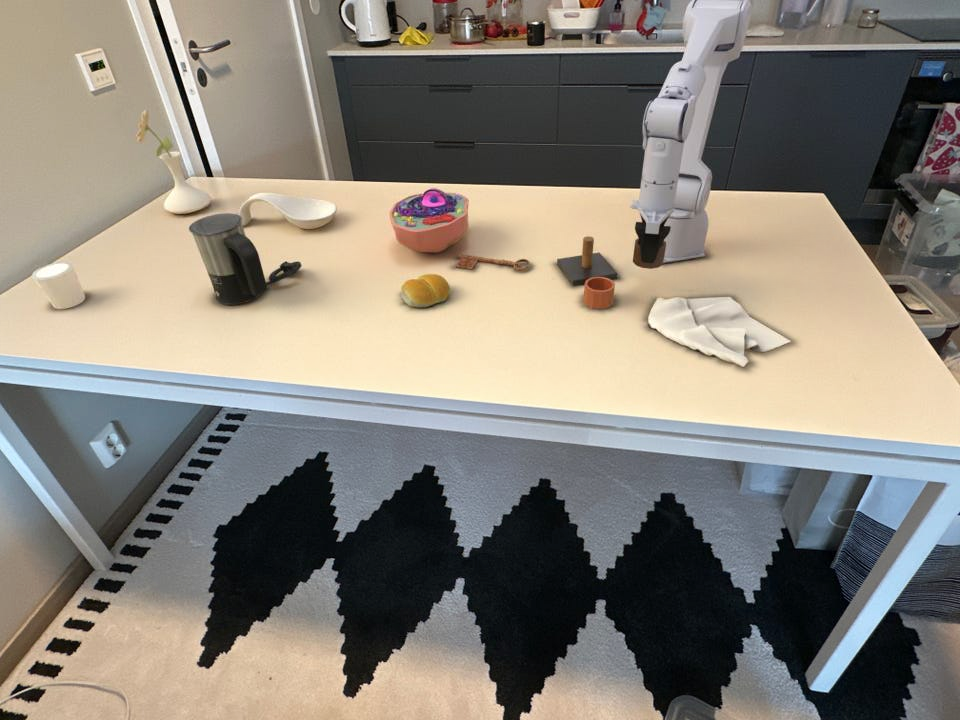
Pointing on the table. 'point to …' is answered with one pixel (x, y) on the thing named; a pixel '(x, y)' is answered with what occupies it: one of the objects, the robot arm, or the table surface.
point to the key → (472, 261)
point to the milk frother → (233, 259)
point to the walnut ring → (656, 264)
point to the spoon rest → (293, 209)
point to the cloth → (713, 327)
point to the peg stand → (586, 265)
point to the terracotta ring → (599, 292)
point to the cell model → (430, 220)
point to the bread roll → (425, 290)
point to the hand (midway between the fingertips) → (648, 254)
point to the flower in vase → (176, 177)
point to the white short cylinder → (59, 284)
